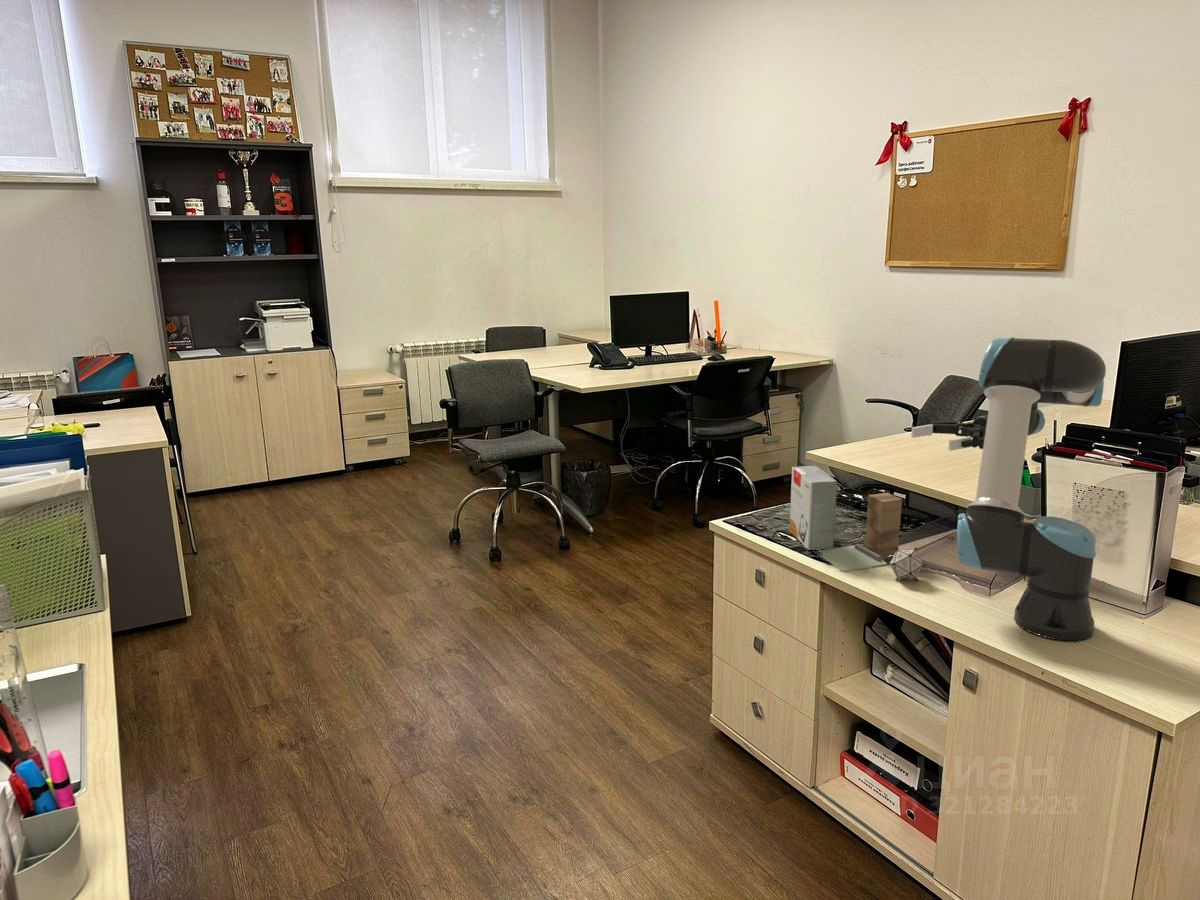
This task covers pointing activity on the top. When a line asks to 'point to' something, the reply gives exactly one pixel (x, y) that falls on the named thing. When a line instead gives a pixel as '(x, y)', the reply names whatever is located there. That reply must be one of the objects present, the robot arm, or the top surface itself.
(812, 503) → the hard drive box
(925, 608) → the top surface
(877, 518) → the walnut block
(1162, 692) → the top surface
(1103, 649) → the top surface
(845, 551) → the pale green square plate
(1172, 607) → the top surface
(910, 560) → the game die
